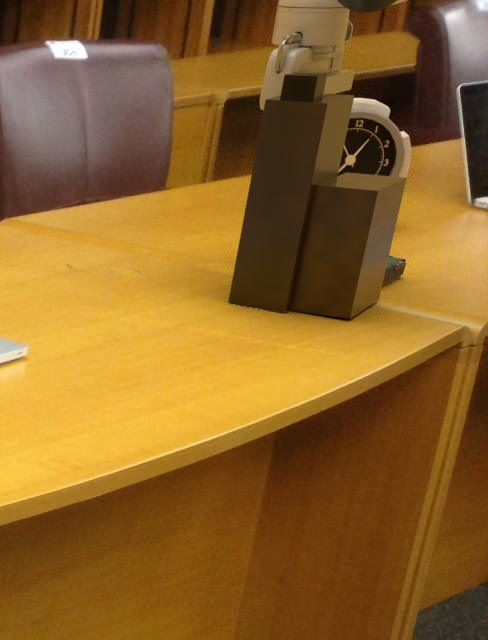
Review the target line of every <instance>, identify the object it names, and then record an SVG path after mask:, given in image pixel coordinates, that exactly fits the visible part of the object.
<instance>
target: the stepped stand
mask: <svg viewBox="0 0 488 640" xmlns="http://www.w3.org/2000/svg"><path fill="white" fill-rule="evenodd" d="M354 98H355V95H354V94H352V95H351V94H339V93H336V94H332V95H328V96H325V97H323V98H322V100H318V101H315V102H303V101H287V100H280V96H277V97H273V98H269V99H266V100H265V105H264V110H262V111H263V112H262V115H261V116H262V117H261V121H260V126H259V132H258V138H257V144H256V149H255V150H256V151H255V155H254V160H253V166H252V171H251V176H250V182H249V188H248V192H247V197H246V204H245V208H244V214H243V220H242V225H241V231H240V235H239V242H238V246H237V252H236V257H235V263H234V268H233V274H232V279H231V285H230V290H229V294H228V295H229V296H228V301H227V304H228V303H230V304H229V305H233V304H235V305H234V306H238V305H240V306H239V307H244V306H246V307H245V308H249V307H252V308H251V309H255V308H258V309H257V310H260V309H263V310H262V311H266V310H268V311H267V312H273V311H274V312H273V313H275V312H276V313H281V312H282V313H281V314H286V313H288V312H297V313H298V312H299V313H304V314H305V313H306V314H313V315H320V316H327V317H335V318H343V319H349V320H350V319H352V318H353V317H355V316H356V315H358V314H360V313H361V312H363V311H364V310H366V309H367V308H369V307H370V306H372V305H374V304H375V303H377V302H378V301H380V297H381V293H382V288H383V285H382V284H383V280H384V275H385V271H386V267H387V262H388V258H389V256H390V253H391V250H392V244H393V240H394V235H395V231H396V227H397V223H398V218H399V213H400V210H401V209H400V208H401V205H402V201H403V196H404V192H405V187H406V183H407V177H406V178H404V177H392V176H381V175H369V174H358V173H344V174H342V175H339V176H338V172H339V167H340V162H341V158H342V153H343V148H344V143H345V138H346V134H347V129H348V124H349V119H350V114H351V110H352V105H353V100H354Z"/></svg>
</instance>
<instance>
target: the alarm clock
mask: <svg viewBox="0 0 488 640" xmlns="http://www.w3.org/2000/svg"><path fill="white" fill-rule="evenodd" d="M390 113H391V108H390V107H389V106H388V105H386V104H384V103H382V102H380V101H378V100H377V99H375V98H374V99H372V98H365V97H354V100H353V105H352V110H351V114H350V119H349V124H348V129H347V134H346V138H345V143H344V148H343V153H342V158H341V162H340V167H339V172H338V176H339V175H342V174H344V173H358V174H369V175H381V176H392V177H404V178H407V176H408V173H409V169H410V167H411V158H412V151H413V148H412V143H411V137H410V135H409V134H408V133H407V132H405V131H404V130H402V131H400V129H399V127H398V126H397V125H396V124H395V123H394V122H393V121H392V120H391V119H390V118H389V117H390Z"/></svg>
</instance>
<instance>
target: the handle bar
mask: <svg viewBox="0 0 488 640" xmlns="http://www.w3.org/2000/svg"><path fill="white" fill-rule="evenodd" d="M355 73H356V70H355V69H341V68H340V69H336V70H331V71H327V72H323V73H319V74H315V73H296V72H294V73H290V74H285V75H284V80H283V86H282V91H281V96H280V100H287V101H303V102H315V101H318V100H322V98H323V97H325V96H328V95H332V94H340V93H343V92H346V91H350V90H352V86H353V82H354V77H355Z"/></svg>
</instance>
